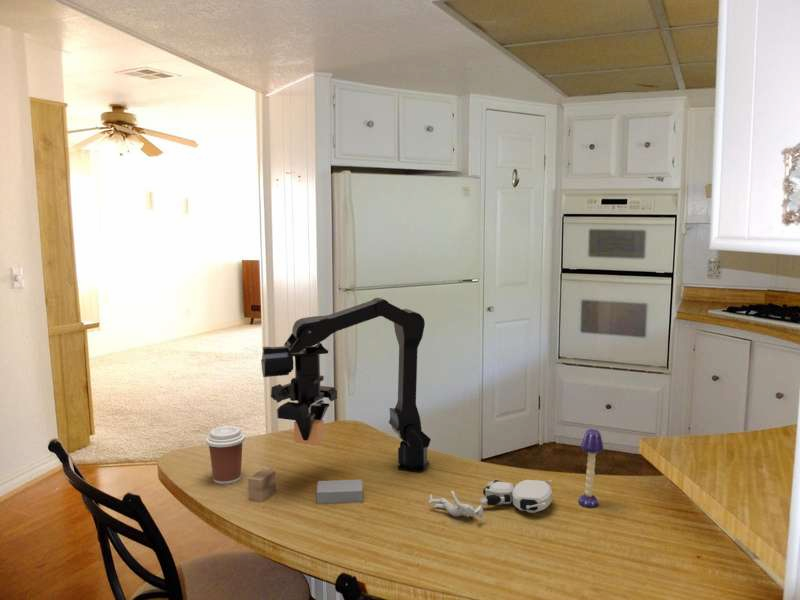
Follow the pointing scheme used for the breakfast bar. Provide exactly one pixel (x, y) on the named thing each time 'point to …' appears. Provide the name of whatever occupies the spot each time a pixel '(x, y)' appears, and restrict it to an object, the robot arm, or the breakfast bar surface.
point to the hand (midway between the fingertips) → (309, 437)
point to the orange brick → (311, 433)
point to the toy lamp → (590, 465)
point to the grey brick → (339, 491)
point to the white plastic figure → (457, 507)
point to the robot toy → (519, 494)
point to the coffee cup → (226, 453)
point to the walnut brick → (262, 484)
